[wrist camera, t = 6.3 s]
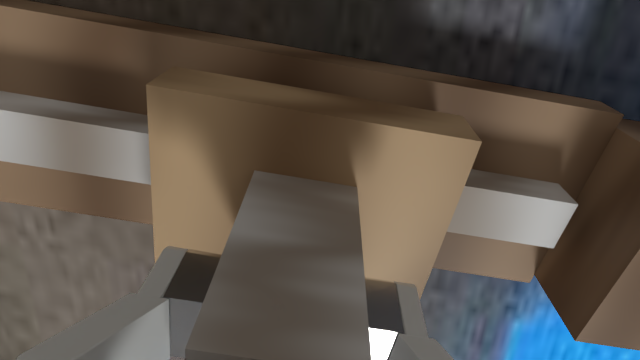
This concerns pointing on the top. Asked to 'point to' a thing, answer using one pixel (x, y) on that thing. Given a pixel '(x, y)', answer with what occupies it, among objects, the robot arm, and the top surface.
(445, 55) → the top surface
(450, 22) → the top surface
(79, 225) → the top surface
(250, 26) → the top surface
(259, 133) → the carriage
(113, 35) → the rail track
